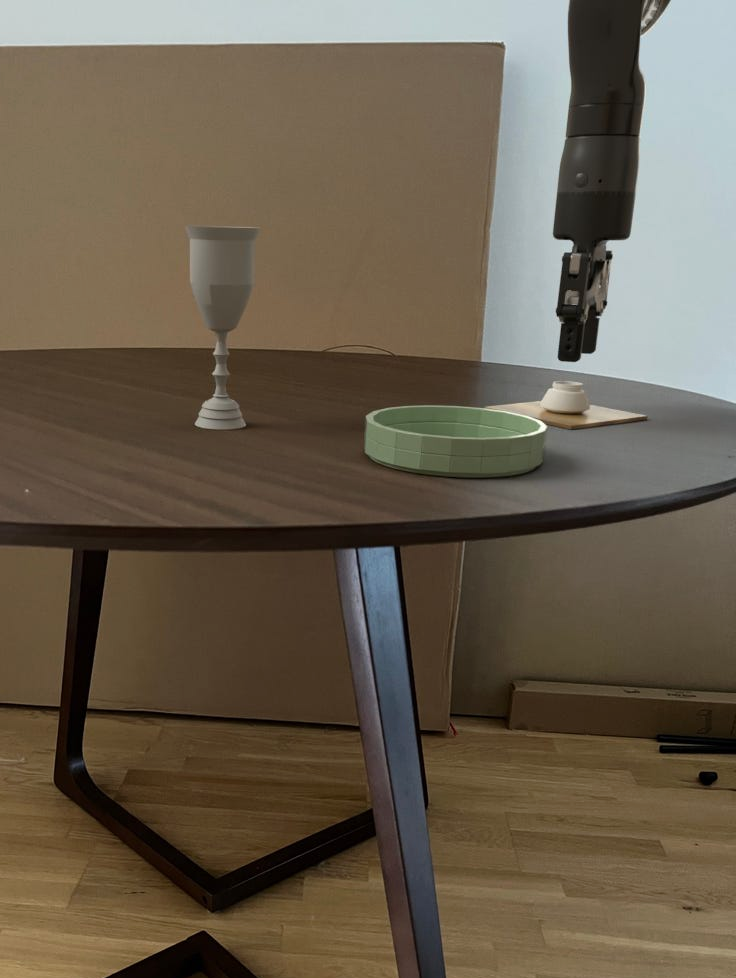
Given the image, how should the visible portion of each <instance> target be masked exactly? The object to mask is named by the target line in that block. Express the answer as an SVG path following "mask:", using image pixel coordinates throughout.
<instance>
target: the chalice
mask: <svg viewBox="0 0 736 978" xmlns="http://www.w3.org/2000/svg"><path fill="white" fill-rule="evenodd" d="M184 228H185V230H186V231H185V232H186V233H187V235H188V237H189V283H190V288H191V290H192V294H193V297H194V300H195V303H196V306H197V309H198V311H199V312H200V313H199V314H200V315H201V317H202V319H203V322H204V324H205V326H206V328H207V329H208V330H210V331H212V332H214V333H215V339H216V344H215V347H214V348H215V349H214V351H213V352H212V355H213V356H214V359H215V363H216V365H215V368H214V371H213V372H212V373H211V375H212V376H213V377H214V381H215V385H216V387H215V391H214V394H212V398H209V399H206V400H205V401H204V402H203V403H202V405H201V409H200V411H199V412H198V417H197V419H196V420H195V423H194V425H195V426H196V427H197V428H201V429H208V430H236V429H243V428H245V427H246V426H247V423H246V422H245V420H244V419H243V413H242V411H241V410H240V405H239V404H238V402H237V401H236V400H234V399H231V398H230V397H229V396H230V394H228V393H227V387H226V385H227V379H228V377H229V376H230V375H231V373H230V372H229V371H228V368H227V360H228V357H229V356H230V352H229V350H228V346H227V337H228V333H230V332H232V331H234V330H235V329H237V328H238V325H239V323H240V321H241V319H242V317H243V315H244V312H245V310H246V308H247V306H248V303H249V300H250V297H251V294H252V291H253V287H254V285H255V257H256V255H255V254H256V253H255V251H256V239H257V237H258V236H259V235H258V234H259V233H260V230H261V227H255V226H254V227H253V226H251V227H250V226H248V227H247V226H221V225H219V226H218V225H217V226H215V225H184Z"/></svg>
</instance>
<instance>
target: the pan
mask: <svg viewBox="0 0 736 978" xmlns="http://www.w3.org/2000/svg"><path fill="white" fill-rule="evenodd" d="M548 429H549V427H548V426H547V424H544V423H543V422H542V421H540V420H537V419H534V418H531V417H529V416H525V415H520V414H516V413H511V412H506V411H499V410H491V409H485V408H483V407H471V406H458V405H431V404H429V405H403V406H396V407H395V406H394V407H386V408H382V409H377V410H374V411H371V412H370V413H368V414H367V415H365V417H364V433H363V434H364V436H363V450H364V453H365V454H366V455H367V456H368V457H369V459H371V460H372V461H373V462H375V463H377V464H379V465H382V466H385V467H387V468H391V469H394V470H399V471H404V472H409V473H413V474H420V475H421V474H422V475H429V476H436V477H446V478H447V477H448V478H471V479H475V478H478V479H479V478H481V479H482V478H485V479H486V478H500V477H501V478H502V477H509V476H515V475H516V476H517V475H522V474H525V473H529V472H531V471H533V470H534V469H536V468H537V467H538V466H541V464H542V462H543V460H544V458H545V451H546V442H547V436H548Z"/></svg>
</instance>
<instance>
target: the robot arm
mask: <svg viewBox="0 0 736 978" xmlns="http://www.w3.org/2000/svg"><path fill="white" fill-rule="evenodd" d="M671 2H672V0H569V1H568V8H567V45H568V66H569V74H570V75H569V76H570V95H569V102H568V109H567V120H566V128H565V129H566V130H565V139H564V145H563V150H562V153H561V156H560V157H561V158H560V162H559V170H558V179H557V187H556V197H555V209H554V217H553V227H552V237H553V238H554V239H555V240H557V241H571V242H572V244H573V246H572V248H571V251H570V252H564V253H563V255H562V256H561V271H560V279H559V287H558V295H557V296H558V297H557V305H556V307H555V314H556V317H557V318H558V320H559V323H560V331H559V339H558V348H557V349H558V350H557V359H558V361H559V362H564V363H577V362H579V361H580V360H581V358H582V354H585V355H592V354H593V353H595V352H596V349H597V345H598V344H597V343H598V336H599V334H598V333H599V328H600V319H601V318H600V317H602V316H603V314H604V311H605V309H606V307H607V306H608V292H609V285H610V275H611V266H612V260H613V259H614V257H613V256H614V254H613V251H612V250H607V243H608V242H609V241H626V240H628V239H629V238H630V236H631V234H632V233H631V232H632V226H633V218H634V213H635V212H634V211H635V204H636V203H635V202H636V195H637V187H638V181H639V180H638V179H639V172H640V164H641V136H642V135H641V134H642V128H643V120H644V112H645V105H646V96H647V94H646V93H647V83H646V78H645V75H644V72H643V71H642V69H641V66H640V52H641V51H640V50H641V49H640V48H641V38H642V37H644V36H645V35H646V34H648V33H649V32H650V31H651V30H652V29H653V27H655V25H656V24H657V23H658V22H659V20H660V19H661V18H662V16H663V15H664V14H665V12H666V10H667V9H668V7H669V5H670V4H671Z"/></svg>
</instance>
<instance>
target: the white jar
mask: <svg viewBox="0 0 736 978" xmlns="http://www.w3.org/2000/svg"><path fill="white" fill-rule="evenodd" d="M551 386H552V387H551V388H548V389H547V391H546V393H545V394H544V396H543V397H542V399H541V400H540V401H541V404H540V405H541V407H542V408H544V409H545V410H548V411H551V412H555V413H562V414H577V413H582V412H584V411H587V410H589V409H590V405H591V404H590V402H589V399H588V396H587V393H586V391H585V390H583V387H584V383H582V382H580V381H570V380H556V381H555V380H554V381H553V383H552V385H551Z"/></svg>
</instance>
